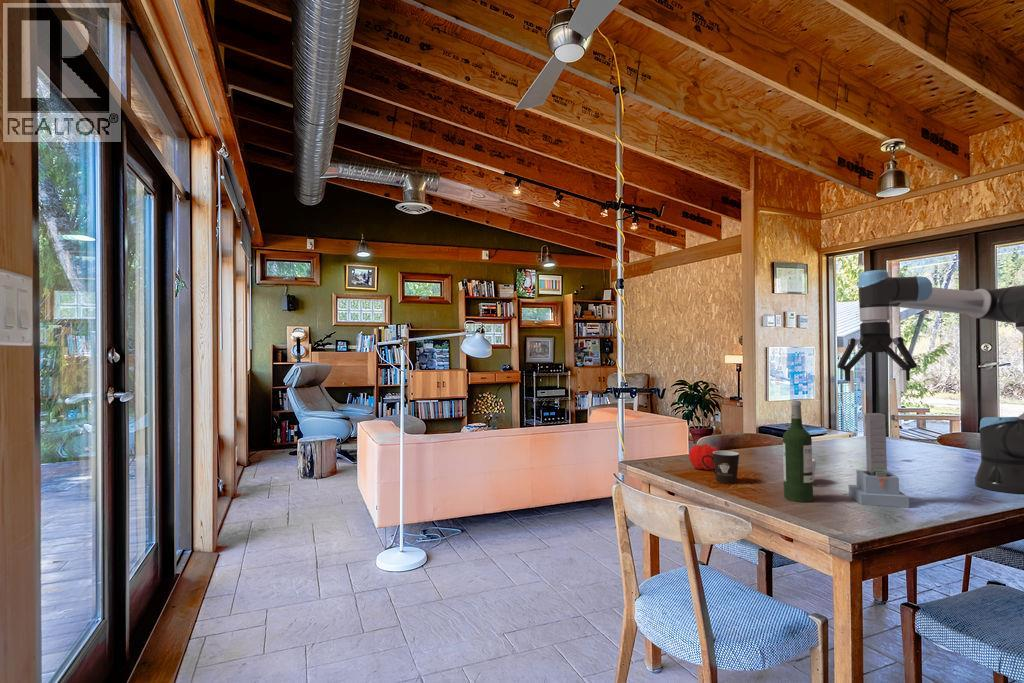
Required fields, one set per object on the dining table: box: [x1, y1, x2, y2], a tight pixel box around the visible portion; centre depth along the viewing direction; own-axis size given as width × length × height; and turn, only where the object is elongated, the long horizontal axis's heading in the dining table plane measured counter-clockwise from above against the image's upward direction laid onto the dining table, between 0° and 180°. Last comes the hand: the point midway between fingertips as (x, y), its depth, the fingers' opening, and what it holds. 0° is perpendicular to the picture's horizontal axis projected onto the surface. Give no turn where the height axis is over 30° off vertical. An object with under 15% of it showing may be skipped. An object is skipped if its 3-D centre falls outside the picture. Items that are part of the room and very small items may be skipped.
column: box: [864, 412, 888, 476], centre depth 161 cm, size 4×5×20 cm
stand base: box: [847, 469, 910, 508], centre depth 161 cm, size 12×12×9 cm
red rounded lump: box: [688, 443, 720, 471], centre depth 208 cm, size 11×12×9 cm
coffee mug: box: [702, 450, 740, 485], centre depth 188 cm, size 12×9×10 cm
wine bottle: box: [782, 399, 814, 503], centre depth 164 cm, size 8×8×30 cm
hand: (877, 392), depth 162 cm, fingers open, 13 cm apart
